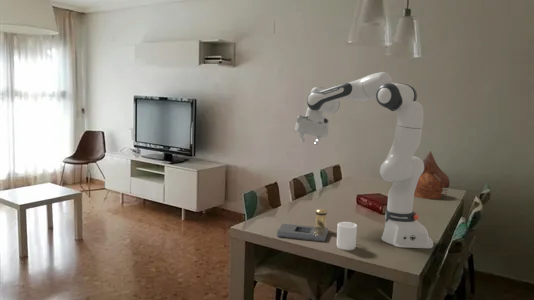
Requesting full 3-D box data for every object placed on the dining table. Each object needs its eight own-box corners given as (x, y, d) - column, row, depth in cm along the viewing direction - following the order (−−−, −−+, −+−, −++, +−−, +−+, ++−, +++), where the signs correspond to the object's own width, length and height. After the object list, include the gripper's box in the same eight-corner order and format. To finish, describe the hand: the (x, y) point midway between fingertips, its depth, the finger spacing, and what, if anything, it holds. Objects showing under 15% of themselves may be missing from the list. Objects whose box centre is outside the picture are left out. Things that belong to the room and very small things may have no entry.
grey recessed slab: (327, 233, 208) (327, 228, 208) (324, 241, 197) (325, 236, 196) (282, 228, 213) (282, 223, 213) (277, 236, 202) (277, 231, 202)
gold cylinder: (326, 228, 215) (327, 209, 214) (325, 232, 210) (326, 212, 208) (315, 227, 216) (316, 208, 215) (314, 231, 211) (314, 210, 210)
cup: (334, 248, 188) (335, 226, 187) (340, 240, 199) (341, 218, 198) (353, 251, 185) (354, 228, 184) (359, 242, 196) (360, 221, 195)
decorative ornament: (404, 196, 286) (408, 150, 281) (409, 190, 302) (412, 147, 298) (447, 201, 274) (451, 154, 270) (449, 195, 291) (452, 150, 287)
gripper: (302, 114, 223) (297, 141, 223) (331, 121, 234) (326, 146, 235) (294, 114, 228) (289, 140, 229) (324, 120, 240) (319, 145, 240)
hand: (308, 143), depth 232 cm, fingers open, 8 cm apart
